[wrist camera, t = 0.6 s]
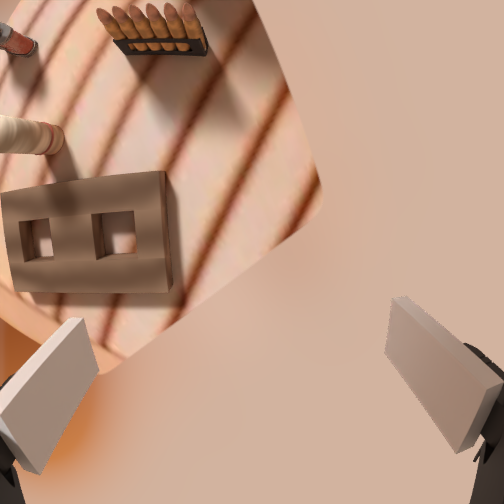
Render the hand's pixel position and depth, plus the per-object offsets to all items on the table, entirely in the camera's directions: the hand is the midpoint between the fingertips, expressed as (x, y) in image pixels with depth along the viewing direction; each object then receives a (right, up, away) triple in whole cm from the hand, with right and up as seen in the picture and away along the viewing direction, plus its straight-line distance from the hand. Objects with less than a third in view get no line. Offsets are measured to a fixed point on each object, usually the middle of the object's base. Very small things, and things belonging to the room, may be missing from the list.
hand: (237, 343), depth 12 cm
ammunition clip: (-10, +29, +20) cm, 36 cm away
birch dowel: (-26, +18, +21) cm, 38 cm away
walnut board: (-21, +6, +25) cm, 33 cm away
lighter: (-34, +35, +17) cm, 52 cm away
